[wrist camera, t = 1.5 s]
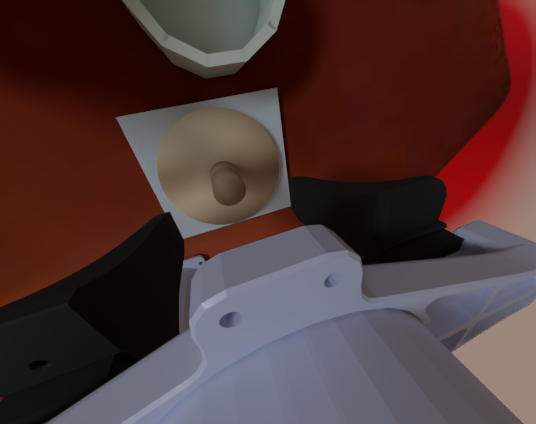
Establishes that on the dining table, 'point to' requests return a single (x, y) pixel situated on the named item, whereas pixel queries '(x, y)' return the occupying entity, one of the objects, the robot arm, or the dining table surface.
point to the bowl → (208, 31)
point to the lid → (218, 165)
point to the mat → (160, 121)
